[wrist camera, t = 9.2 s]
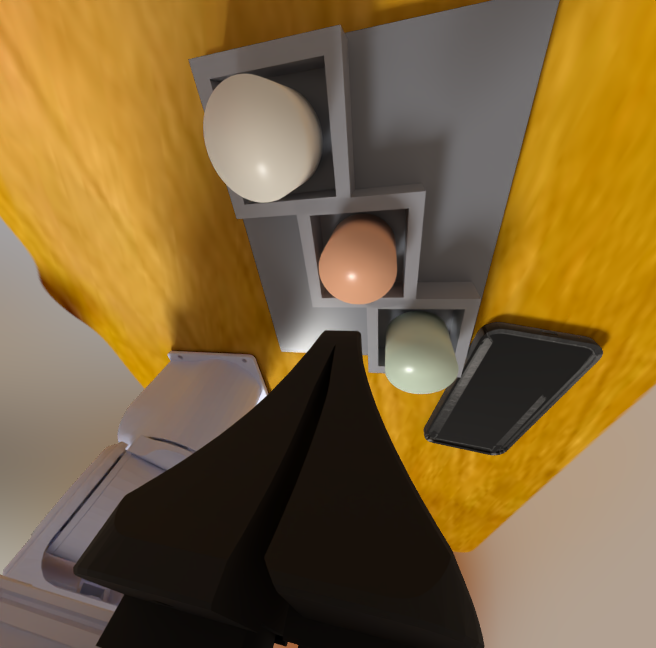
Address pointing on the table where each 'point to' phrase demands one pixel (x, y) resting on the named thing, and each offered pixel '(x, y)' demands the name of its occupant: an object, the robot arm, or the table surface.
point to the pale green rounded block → (419, 353)
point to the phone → (508, 385)
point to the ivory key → (261, 137)
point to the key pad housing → (396, 160)
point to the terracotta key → (359, 260)
